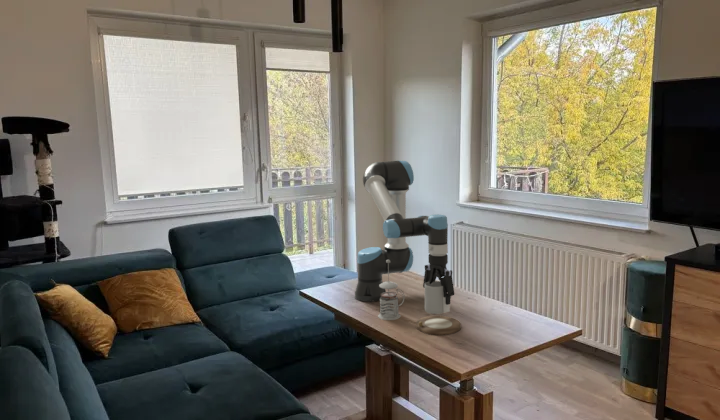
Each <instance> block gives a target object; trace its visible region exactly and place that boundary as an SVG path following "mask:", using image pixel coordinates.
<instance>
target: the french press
mask: <svg viewBox="0 0 720 420" xmlns="http://www.w3.org/2000/svg"><path fill="white" fill-rule="evenodd" d="M386 263H388V274H387V275H388V278H387V279H388V281H382V282H383V283H381V284H380V285H379V287H380V288H382V289H385V290H387V291H386V292H383V293H381V297H380V300H379V314H378V315H377V317H378V319H380V320H384V321H395V320H398V319H400V318H401V314H400V313H399V312H400V311H399V307H400V306H402V305H403V304H404V302H405V293H404V291H403V290H402V289H400V288H398V286H399V284H398V283H396V282H395V281H391V280H390V277H389V263H390V260H386ZM396 288H397V292H401V296H402V302H401V303H399V297H398V293H397V292H394V291H390V290H394V289H396Z"/></svg>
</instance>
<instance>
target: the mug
mask: <svg viewBox="0 0 720 420" xmlns="http://www.w3.org/2000/svg"><path fill="white" fill-rule="evenodd" d="M443 296H445V295H444V292H443V286H442V285H441V282H440V280H435V281H433V282H432V283H431V284H430V282H426V283H425V288H424V312H426V313H427V314H433V315H439V314H441V315H442V314H445V313H444V312H443ZM450 300H452V296H451V297H450Z"/></svg>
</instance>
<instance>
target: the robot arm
mask: <svg viewBox="0 0 720 420" xmlns="http://www.w3.org/2000/svg"><path fill="white" fill-rule="evenodd" d="M413 170H414V169H413V167H412V165H411V164H410V163H409V162H408V161H407V160H390V161H389V160H386V161H385V160H384V161H375V162H373V163H371V164H369V165H368V166H367V167H366V169H365V171H364V173H363V176H362V184H363V187H364V188H365V190H366V191H367V193H369V194H370V196H371V197H372V199H373V202H374V204H375V205H376V207H377V209H378V210H379V211H378V212H379V213H380V215H381V217H382V220H383V222H382V232H383V235H384V237H385V238H386V239H387V242H386V243H385V244H384V248H383V249H382V248H381V247H378V246H371V247H366V248H363V249H360V250H359V251H358V252H357V259H356V262H357V284H356V286H355V291H354V298H355V299H356V300H358V301H362V302H377V301H378V302H380V297H381V293H383V292H387V291H386V290H387V289H382V288H380V287H379V285H380V284H381V283H383V282H384V281H383V275H388V263H386V260H390V263H389V274H398V273H399V274H400V273H405V272H406V273H407V272H408V271H410V270H411V268H412V266H413V265H414V264H413V263H414V254H413V250H412V248H411V247H410V246H409V244H408V243H407V242H406V238H410V237H419V236H420V237H421V236H427V239H428V242H427V243H428V264H425V265H424V274H423V275H424V276H423V284H422V287H423V289H425V283H426V282H430V284H431V283H432V282H433V281H437V280H436V279H438V281H440V282H441V285H442V286H443V292H444V295H445V296H443V312H444V313H443V314H446V313H449V312H450V305H451V299H450V297H451V298H452V296H455V288H454V282H453V270H449V269H447V265H448V260H449V258H448V249H449V248H448V245H449V244H448V230H449V229H448V226H449V224H448V217H447V215H445V214H431V215H419V216H417V217H409V218H406V217H407V215H406V213H407V212H406V209H407V207H406V201H407V200H406V199H407V198H406V194H407V192H408V191H409V190H410V186H412V185H413V183H414V179H415V177H414V176H415V175H414V171H413Z"/></svg>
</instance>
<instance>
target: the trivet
mask: <svg viewBox="0 0 720 420" xmlns="http://www.w3.org/2000/svg"><path fill="white" fill-rule="evenodd" d="M415 327H416V329H417V331H420V332H421V333H424V334H426V335H427V334H428V335H431V336H432V335H433V336H447V335H449V336H450V335H452V334H456V333H458V332H459V331H461V328H462V323H461V321H460V320H458V319H456V318H454V317H450V316H445V315H428V316H424V317H423V316H422V317H421V318H419V319H417V320H416V322H415Z"/></svg>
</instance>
